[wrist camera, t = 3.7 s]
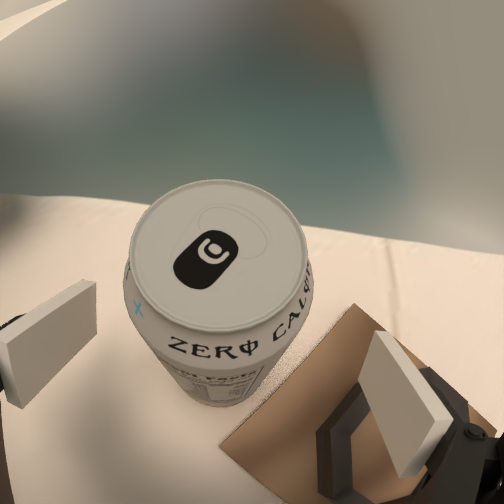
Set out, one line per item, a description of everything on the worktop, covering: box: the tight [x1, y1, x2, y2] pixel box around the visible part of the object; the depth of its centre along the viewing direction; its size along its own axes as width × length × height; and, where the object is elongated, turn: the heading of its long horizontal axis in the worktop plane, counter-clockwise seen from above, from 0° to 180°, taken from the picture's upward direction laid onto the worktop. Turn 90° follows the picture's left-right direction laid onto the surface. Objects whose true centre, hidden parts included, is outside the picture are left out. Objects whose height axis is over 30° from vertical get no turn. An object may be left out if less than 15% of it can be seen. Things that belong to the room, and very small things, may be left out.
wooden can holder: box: [219, 303, 497, 504], centre depth 17 cm, size 18×14×4 cm
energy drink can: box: [123, 179, 314, 407], centre depth 15 cm, size 6×6×15 cm
